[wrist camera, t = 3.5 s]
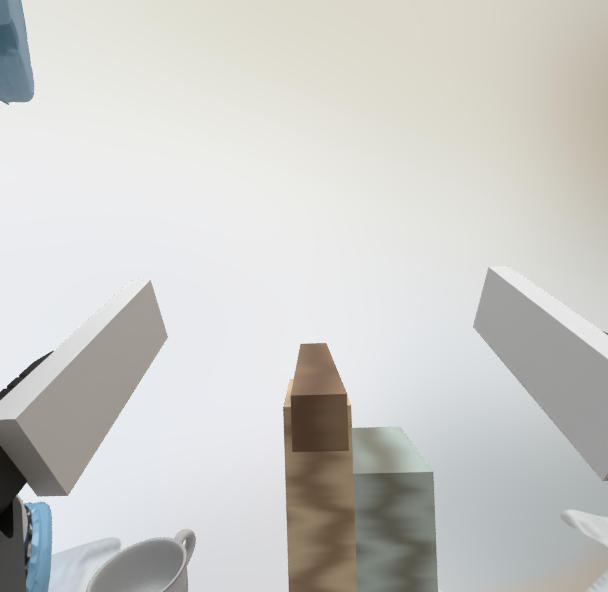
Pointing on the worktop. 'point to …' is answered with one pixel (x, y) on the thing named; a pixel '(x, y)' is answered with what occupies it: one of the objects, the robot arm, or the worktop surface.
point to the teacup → (147, 566)
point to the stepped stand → (360, 514)
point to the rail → (318, 403)
